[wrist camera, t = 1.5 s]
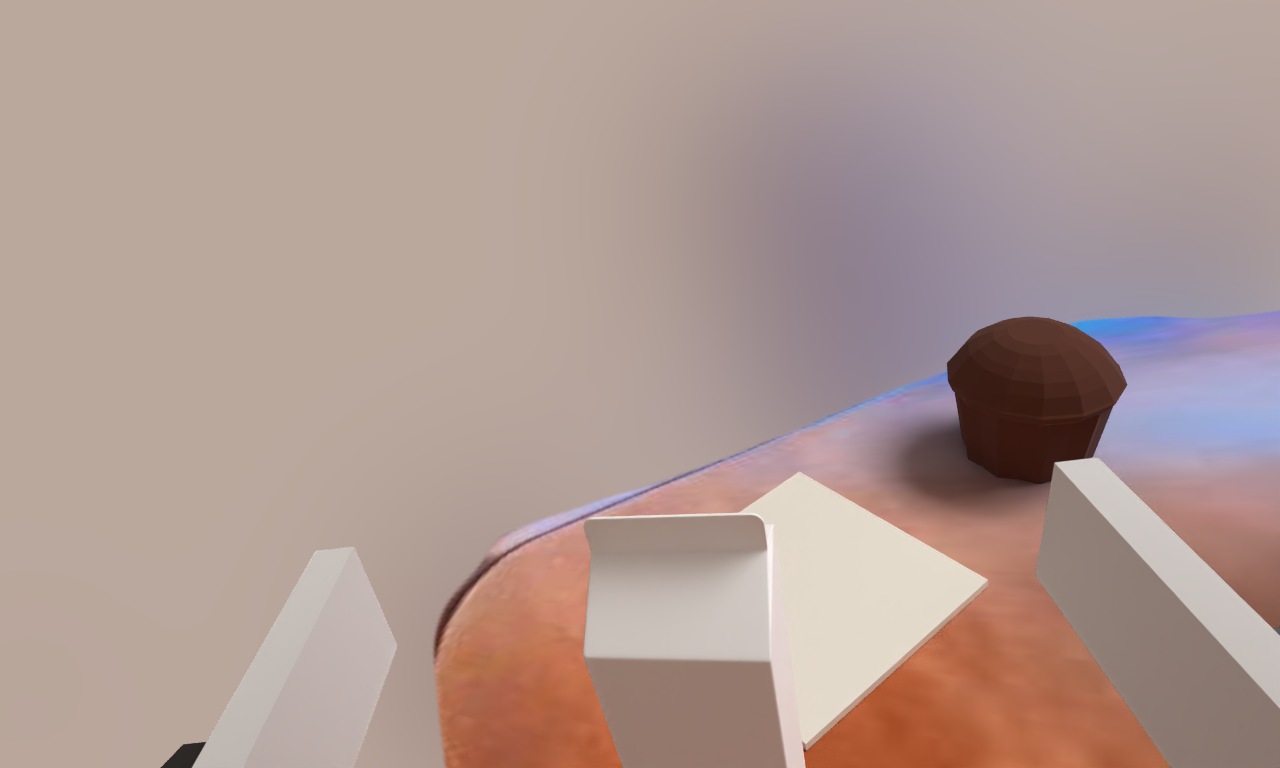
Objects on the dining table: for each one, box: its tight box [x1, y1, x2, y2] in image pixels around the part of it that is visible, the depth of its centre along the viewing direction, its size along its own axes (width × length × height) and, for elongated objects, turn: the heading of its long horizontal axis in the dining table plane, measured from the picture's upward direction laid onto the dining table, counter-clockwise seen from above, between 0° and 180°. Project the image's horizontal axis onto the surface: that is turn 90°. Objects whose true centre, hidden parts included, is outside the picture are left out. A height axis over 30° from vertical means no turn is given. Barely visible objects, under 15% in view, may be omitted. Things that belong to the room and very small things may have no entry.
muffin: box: [947, 317, 1127, 484], centre depth 52 cm, size 12×11×10 cm
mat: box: [739, 472, 988, 751], centre depth 47 cm, size 16×16×1 cm
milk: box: [583, 513, 805, 768], centre depth 28 cm, size 6×6×22 cm
